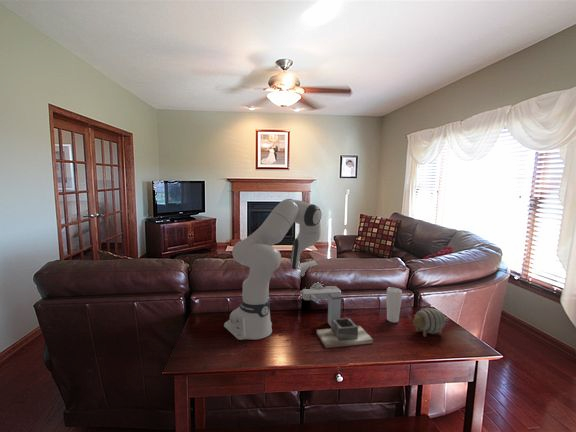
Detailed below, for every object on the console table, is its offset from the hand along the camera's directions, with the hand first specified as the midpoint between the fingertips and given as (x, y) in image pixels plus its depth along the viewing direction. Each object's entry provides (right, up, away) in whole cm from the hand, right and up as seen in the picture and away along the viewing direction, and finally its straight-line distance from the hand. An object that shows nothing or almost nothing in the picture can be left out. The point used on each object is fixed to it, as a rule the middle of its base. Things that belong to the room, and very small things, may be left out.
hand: (326, 299), depth 144 cm
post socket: (+5, -10, -21) cm, 24 cm away
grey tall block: (+2, -9, -10) cm, 13 cm away
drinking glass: (+31, -9, -5) cm, 33 cm away
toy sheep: (+43, -10, -17) cm, 47 cm away
